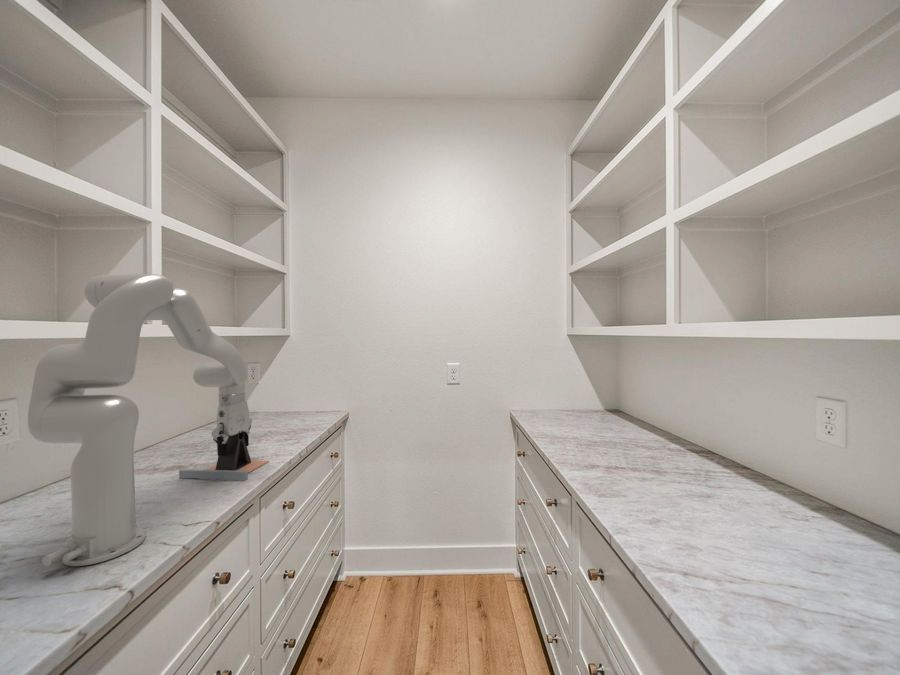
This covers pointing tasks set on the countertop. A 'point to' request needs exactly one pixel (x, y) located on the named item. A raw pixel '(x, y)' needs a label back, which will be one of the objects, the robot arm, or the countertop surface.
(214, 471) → the acrylic wall
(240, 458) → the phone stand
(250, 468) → the mat
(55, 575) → the countertop surface
